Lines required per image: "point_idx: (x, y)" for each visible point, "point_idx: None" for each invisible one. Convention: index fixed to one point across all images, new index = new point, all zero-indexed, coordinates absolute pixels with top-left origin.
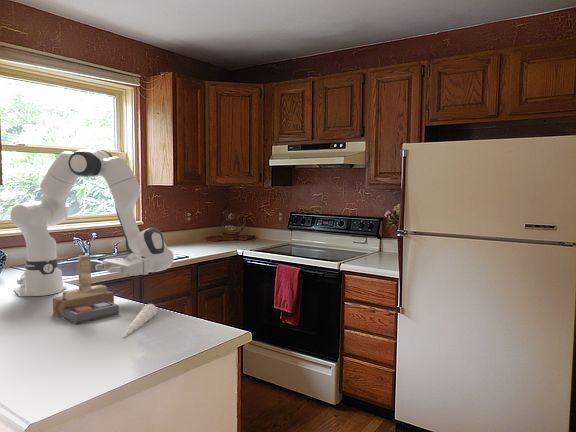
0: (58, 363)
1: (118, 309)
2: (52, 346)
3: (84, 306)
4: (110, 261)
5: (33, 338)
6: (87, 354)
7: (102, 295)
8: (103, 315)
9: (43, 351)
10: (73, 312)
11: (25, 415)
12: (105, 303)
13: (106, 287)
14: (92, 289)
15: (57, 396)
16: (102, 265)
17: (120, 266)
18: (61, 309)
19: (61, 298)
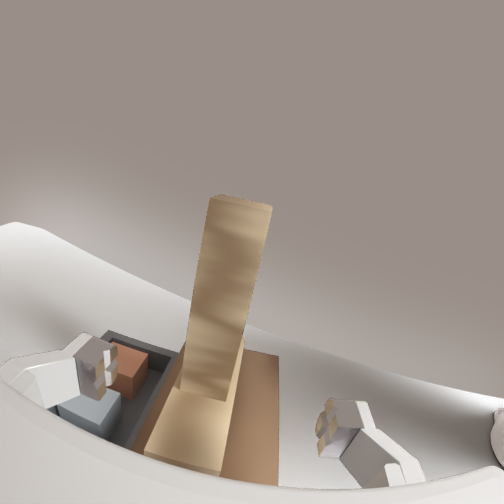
0: (36, 257)
1: None
2: (75, 283)
3: (134, 371)
4: (357, 498)
5: (134, 300)
6: (12, 269)
7: (136, 440)
8: None
9: (76, 274)
10: (130, 340)
11: (22, 224)
12: (82, 411)
13: (144, 454)
14: (171, 392)
15: (11, 231)
16: (372, 459)
17: (14, 378)
18: None
19: (244, 358)
